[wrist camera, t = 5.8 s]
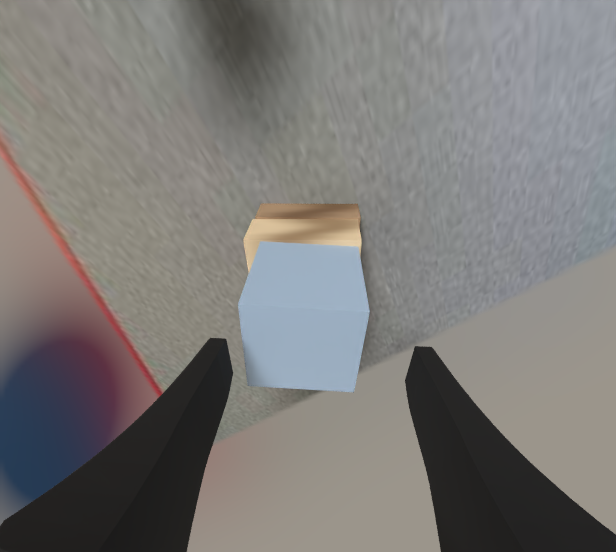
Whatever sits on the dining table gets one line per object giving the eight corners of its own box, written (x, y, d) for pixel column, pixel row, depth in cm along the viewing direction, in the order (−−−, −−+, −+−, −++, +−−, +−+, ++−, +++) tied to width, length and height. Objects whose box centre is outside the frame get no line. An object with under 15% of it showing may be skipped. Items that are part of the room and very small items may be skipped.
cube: (358, 246, 16) (369, 312, 12) (347, 319, 19) (353, 392, 15) (260, 241, 16) (238, 304, 12) (264, 314, 19) (247, 385, 15)
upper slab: (357, 218, 18) (361, 240, 16) (351, 300, 21) (354, 327, 19) (252, 219, 18) (243, 239, 16) (263, 299, 22) (256, 325, 20)
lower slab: (356, 201, 20) (360, 217, 18) (350, 278, 23) (353, 300, 21) (262, 200, 20) (255, 217, 18) (270, 277, 24) (264, 298, 21)
